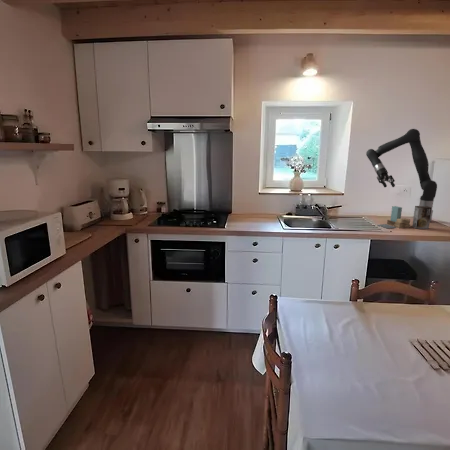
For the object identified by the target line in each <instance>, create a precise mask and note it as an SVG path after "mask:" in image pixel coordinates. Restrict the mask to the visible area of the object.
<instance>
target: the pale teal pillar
mask: <svg viewBox="0 0 450 450" xmlns="http://www.w3.org/2000/svg"><path fill="white" fill-rule="evenodd" d="M391 207H392V208H391V213H390V219H389V220H390V221H394V222H395V221H397V219H402V212H403V211H402V210H403V207H401V206H397V205H394V206H391Z"/></svg>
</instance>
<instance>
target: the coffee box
mask: <svg viewBox="0 0 450 450" xmlns="http://www.w3.org/2000/svg"><path fill="white" fill-rule="evenodd" d="M431 209H432V210H433V207H432V208H431V207H429V206H419V205H415V206H414V211H413V212H414V213H413V217H412V218H413V219H412V220H413V221H412V228H414V229H416V230H417V229H419V230H421V229H422V230H423V229H424V230H429V228H430V216H431Z"/></svg>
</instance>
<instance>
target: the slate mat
mask: <svg viewBox="0 0 450 450" xmlns="http://www.w3.org/2000/svg"><path fill="white" fill-rule="evenodd" d="M377 226H378V227H380V226H381V228H384V229H388V230H390V229H397V227H394V226H392V225H389V224H387V223H386V224H377Z"/></svg>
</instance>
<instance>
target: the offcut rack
mask: <svg viewBox="0 0 450 450" xmlns="http://www.w3.org/2000/svg"><path fill="white" fill-rule="evenodd" d="M390 220H391V219H387V222H386V224H387V225H390V226H394V227H396V229H397V228H398V229H402V228H403V229H405V228H406V229H407V228H411V224H410V222H411V219H410V218H404V217H403V218H402V217H401V219H397V221H395V222H394V221H390Z"/></svg>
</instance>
